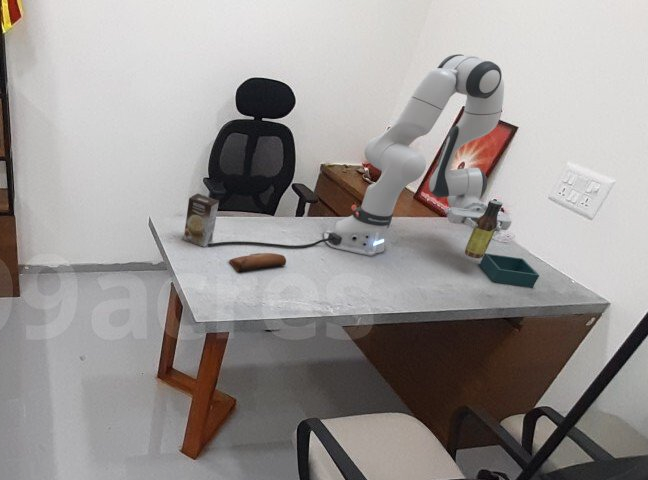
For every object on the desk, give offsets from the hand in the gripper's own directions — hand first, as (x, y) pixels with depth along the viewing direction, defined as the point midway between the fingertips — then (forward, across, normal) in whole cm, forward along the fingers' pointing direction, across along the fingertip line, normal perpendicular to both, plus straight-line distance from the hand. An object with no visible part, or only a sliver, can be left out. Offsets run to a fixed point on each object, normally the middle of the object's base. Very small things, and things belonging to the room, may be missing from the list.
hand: (486, 227), depth 176 cm
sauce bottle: (-1, 0, +11) cm, 11 cm away
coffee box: (+6, -97, +17) cm, 99 cm away
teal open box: (-1, +14, +17) cm, 22 cm away
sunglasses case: (+18, -76, +17) cm, 80 cm away
